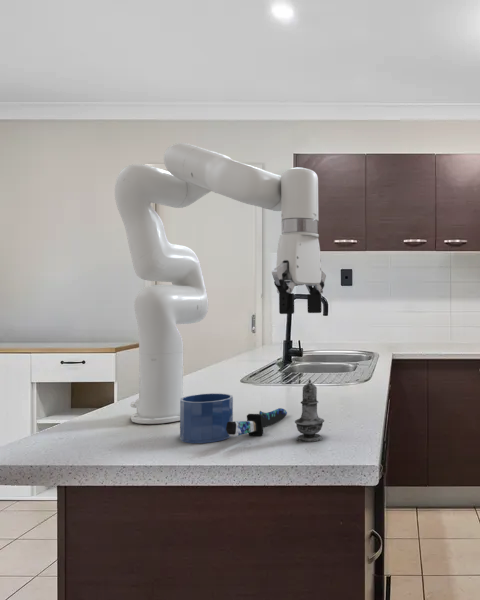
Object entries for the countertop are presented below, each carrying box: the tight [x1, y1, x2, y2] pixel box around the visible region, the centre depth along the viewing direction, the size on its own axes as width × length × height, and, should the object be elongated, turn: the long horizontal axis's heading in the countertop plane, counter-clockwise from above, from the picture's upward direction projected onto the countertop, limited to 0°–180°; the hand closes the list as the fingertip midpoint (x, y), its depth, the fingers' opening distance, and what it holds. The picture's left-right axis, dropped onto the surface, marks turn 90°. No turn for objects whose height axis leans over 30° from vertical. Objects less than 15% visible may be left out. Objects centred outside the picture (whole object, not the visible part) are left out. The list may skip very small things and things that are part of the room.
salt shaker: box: [294, 378, 325, 443], centre depth 104 cm, size 6×6×12 cm
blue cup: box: [179, 392, 234, 444], centre depth 106 cm, size 10×10×8 cm
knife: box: [226, 407, 288, 437], centre depth 110 cm, size 31×3×4 cm, turn 169°
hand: (301, 313), depth 106 cm, fingers open, 9 cm apart
